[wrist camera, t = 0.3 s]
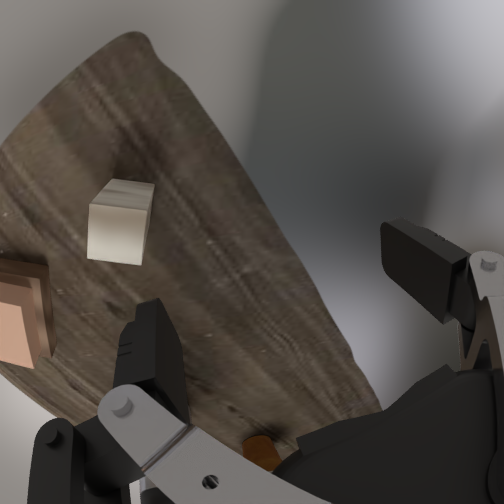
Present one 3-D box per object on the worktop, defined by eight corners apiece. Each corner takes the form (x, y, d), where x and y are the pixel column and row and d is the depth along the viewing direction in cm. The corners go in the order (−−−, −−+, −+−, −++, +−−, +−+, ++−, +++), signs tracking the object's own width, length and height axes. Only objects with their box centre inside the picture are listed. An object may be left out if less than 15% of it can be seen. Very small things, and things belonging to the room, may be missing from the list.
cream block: (149, 225, 36) (141, 265, 27) (107, 220, 34) (87, 258, 25) (154, 184, 34) (147, 210, 25) (112, 178, 32) (89, 203, 23)
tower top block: (41, 349, 35) (33, 368, 32) (-15, 335, 32) (-25, 352, 29) (32, 288, 31) (20, 306, 28) (-28, 275, 28) (-42, 291, 25)
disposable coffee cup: (286, 436, 61) (303, 479, 50) (256, 455, 62) (269, 497, 52) (256, 426, 57) (271, 475, 46) (225, 447, 58) (236, 494, 48)
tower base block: (58, 340, 40) (51, 358, 36) (-11, 326, 36) (-20, 341, 32) (49, 263, 35) (39, 278, 31) (-25, 251, 31) (-39, 264, 27)
